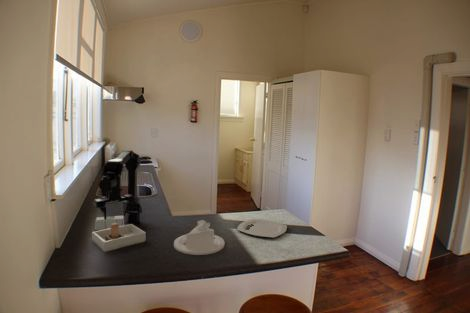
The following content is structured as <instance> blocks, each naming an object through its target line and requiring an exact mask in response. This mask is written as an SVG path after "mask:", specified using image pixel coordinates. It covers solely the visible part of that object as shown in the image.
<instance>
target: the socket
mask: <svg viewBox="0 0 470 313" xmlns="http://www.w3.org/2000/svg"><path fill="white" fill-rule="evenodd" d="M121 237H125V236H123V235H122V234H121V233H119V237H118V238H121ZM114 239H117V238H114ZM105 240H106V241H108V240H113V239H111V234H110V235H106V236H105Z"/></svg>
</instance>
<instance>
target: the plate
mask: <svg viewBox="0 0 470 313" xmlns="http://www.w3.org/2000/svg"><path fill="white" fill-rule="evenodd" d="M251 224H253V225H254V226H252V227H250V229H249V230H245V229H246V227H247V226H248V225H251ZM287 228H288V225H287V224H284V223H281V222H277V221H273V220H268V219H259V218H251V219H246V220H244V221H243V222H240V224H239V225H238V226H237V228H236V230H237V231H238V232H241V233H244V234H247V235H250V236H255V237H260V238H261V237H263V238H271V239H273V238H274V239H275V238H277V237H279V236H282V235H283V234H285V233H286V232H287Z"/></svg>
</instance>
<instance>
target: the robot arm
mask: <svg viewBox="0 0 470 313" xmlns="http://www.w3.org/2000/svg"><path fill="white" fill-rule="evenodd" d="M141 163H142V158H141V156H140V155H139V154H137V153H136V152H134V150H131V149H130V150H129V149H123V150H122V152H121V153H120V154H119V155H117V157H116V158H113V159H109V160H108V161H106V163H105V164H104V167H103V170H102V174H101V175H102V176H101V177H102V179H101V180H100V181H99V182H98V187H99V189H100V190H99V197H100V198H94V199H93V200H92V206H94V208H96V209H99V210H100V212H101V214H102V217H104V219H105V220H106V217H107V207H106V205H108V204H113V203H121V202H122V204H123V206H122V216H124V217H125V218H126V220H125V223H127V225H128V224H133V225H137V224H142V222H141V220H140V219H141V218H140V217H141V214H142V213H143V207H142V205H141V202H140V198H139V196H138V195H137V194H138V191H137V186H138V185H137V184H138V182H137V181H138V169H139V168H140V167H141ZM124 168H125V169H126V170H127V194H124V195H122V193H121V192H122V190H123V189H122V179H121V177H122V174H123V171H124ZM103 197H104V199H103Z"/></svg>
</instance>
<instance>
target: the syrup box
mask: <svg viewBox="0 0 470 313" xmlns="http://www.w3.org/2000/svg"><path fill="white" fill-rule="evenodd" d="M94 222H95V224H94V225H95V226H94V228H95V231H100V230H104V229H109V228H111V224H113V223H119V226H123V225H125V216H123V215H109V216H106V220H105V219H104V217H103V216H97V217H96V218H95V221H94Z"/></svg>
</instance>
